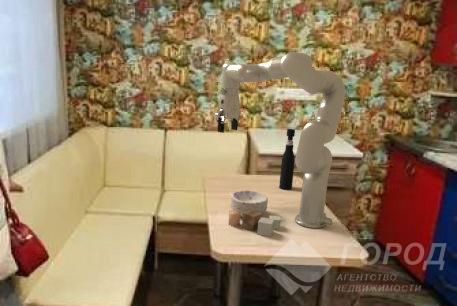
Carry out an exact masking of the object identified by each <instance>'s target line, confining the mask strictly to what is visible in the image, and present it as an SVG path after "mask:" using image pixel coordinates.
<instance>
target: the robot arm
mask: <svg viewBox="0 0 457 306" xmlns="http://www.w3.org/2000/svg"><path fill="white" fill-rule="evenodd" d="M221 73H222V74H221V90H220V91H221V93H220V97H219V103H218V110H217V111H216V112H215V113H214V115H215V121H216V123H217V132H218V133H222V134H224V132H225V123H224V122H225V121H226V120H231V122H230V124H231V126H230V129H231V130H233V131H238V127H239V121H240V119H241V114H242V110H241V106H240V105H241V104H240V103H241V102H240V95H239V89H240V83H256V82H263V81H270V80H271V81H272V80H280V79H287V78H289V80H291V81H292V82H293V83H295V84H296V85H297V86H298V87H300V89H302V90H303V91H304V92H306V93H308V94H311V95H318V94H319V95H320V94H322V98H321V100H320V102H319V104H318V108H317V112H316V116H315V119H313V120H310V121H309V122H307V123H306V124H305V125H304V126H303V128H302V130H301V133H300V136H299V140H298V144H297V149H296V153H295V157H294V158H295V165H296V168H297V170H298V171H299V172H300V173H303V176H302V177H303V178H302V184H301V185H302V186H301V192H300V193H301V196H300V205H299V213H298V215H295V217H294V222H296V224H297V225H299V226H302V227H306V228H311V229H321V228H324V227H326V226H327V225H329V226H332V225H333V223H334V222H333V218H331V217H327V212H325V207H326V197H327V188H328V182H329V175H330V171H331V167H332V162H333V155H332V151H331V150H330V148H329V147H327V146H325V145H326V144H328V143H330V142H332V141H333V140H334V139H335V138H336V135H337V130H338V127H339V123H340V119H341V114H342V110H343V105H344V103H345V99H346V87H345V83H344V81H343V79H342V78H341V77H340V76H339V75H338V74H337V73H335V72H334V71H331V70H324V69H322V70H318V69H316V68H314V67H313V60H312V57H310V55H309V54H307V53H304V52H295V51H292V52H291V51H289V52H287V53H286V54H285V55H283V56H275V57H272V58H270V59H269V61H267V62H261V63H256V64H254V63H253V64H252V63H250V64H249V63H241V64H240V63H232V62H231V63H230V62H229V63H227V62H226V63H223V65H222V72H221Z"/></svg>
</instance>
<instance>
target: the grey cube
mask: <svg viewBox="0 0 457 306" xmlns="http://www.w3.org/2000/svg"><path fill="white" fill-rule="evenodd" d="M274 230H275V229H274V219H269V217H262V216H261V218H260V220H259V221H258V229H257V230H256V231H257V233H256V234H257V235H260V236H264V237H271V236H272V235H273V233H274Z"/></svg>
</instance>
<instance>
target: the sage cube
mask: <svg viewBox="0 0 457 306" xmlns="http://www.w3.org/2000/svg"><path fill="white" fill-rule="evenodd" d="M268 216H269V217H268V218H269V219H274V229H273V230H280V229H281V228H280V227H281V217H280V215H268Z"/></svg>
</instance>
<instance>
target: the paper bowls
mask: <svg viewBox="0 0 457 306" xmlns="http://www.w3.org/2000/svg"><path fill="white" fill-rule="evenodd" d="M268 199H269V198H268V196H267V195H266V194H265V193H262V192H260V191H255V190H250V189H249V190H238V191H234V192H232V193H231V195H230V204H229V205H230V208H231V210H237V211H240V212H241V216H240V218H241V217H242V218H243V213H244V212H247V211H249V210H252V211H256V212H259V213H261V214H262V213H264V212H266V211H267V210H268V201H269V200H268Z"/></svg>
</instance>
